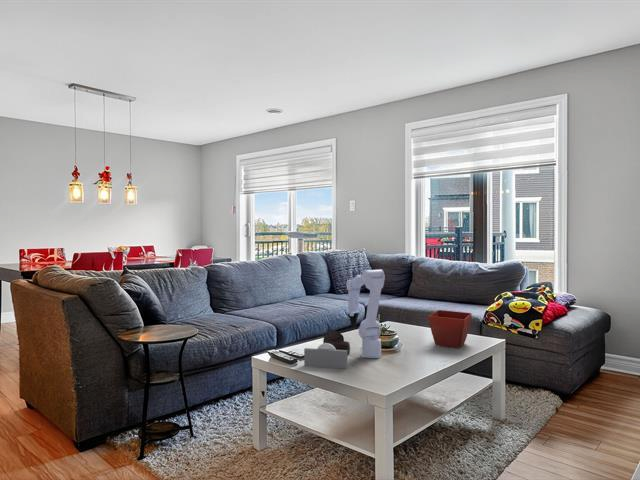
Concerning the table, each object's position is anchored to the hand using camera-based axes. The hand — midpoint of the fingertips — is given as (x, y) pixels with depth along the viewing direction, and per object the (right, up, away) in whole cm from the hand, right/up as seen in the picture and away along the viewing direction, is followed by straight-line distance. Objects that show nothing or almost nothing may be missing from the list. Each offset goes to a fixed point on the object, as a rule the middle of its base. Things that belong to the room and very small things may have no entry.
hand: (353, 326), depth 252 cm
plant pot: (+53, -11, +2) cm, 54 cm away
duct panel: (-16, -12, -36) cm, 41 cm away
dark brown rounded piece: (-10, -11, -11) cm, 19 cm away
